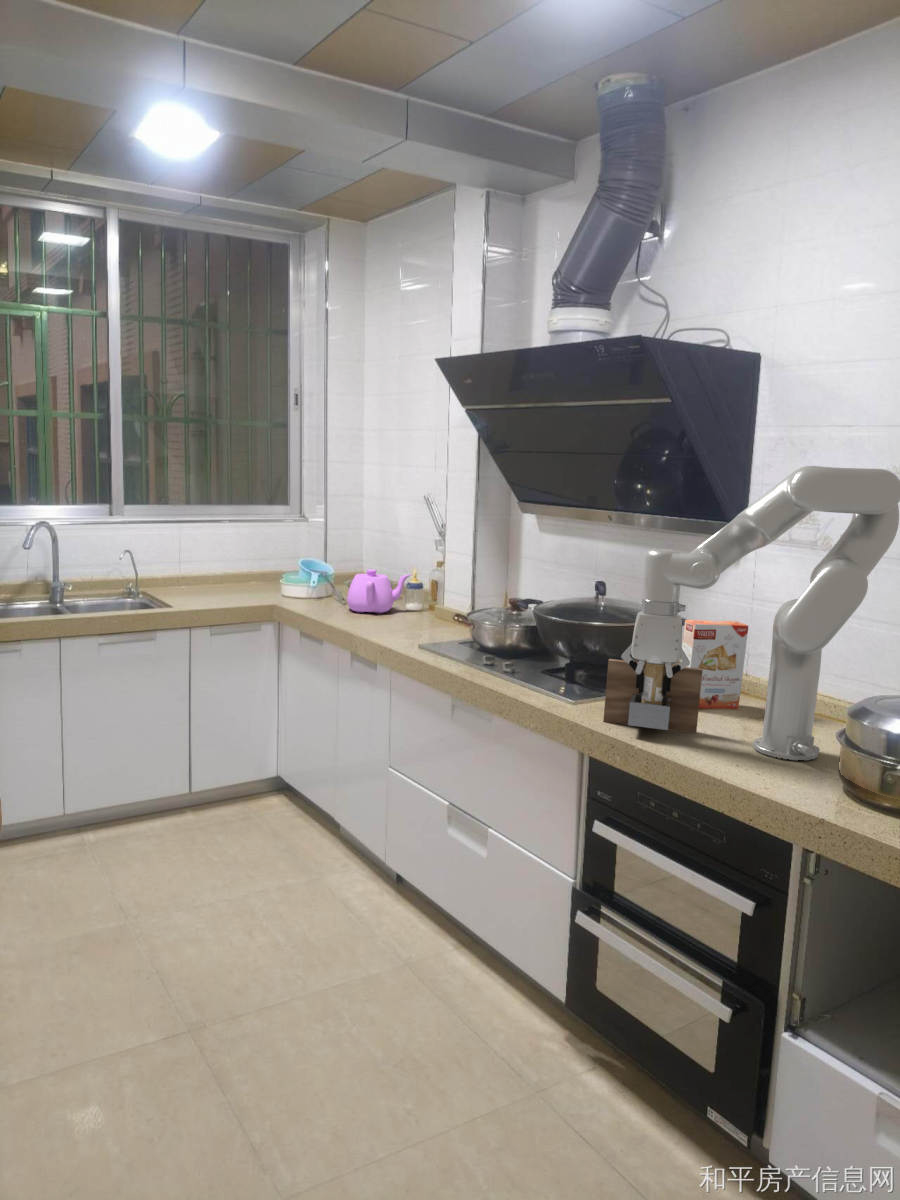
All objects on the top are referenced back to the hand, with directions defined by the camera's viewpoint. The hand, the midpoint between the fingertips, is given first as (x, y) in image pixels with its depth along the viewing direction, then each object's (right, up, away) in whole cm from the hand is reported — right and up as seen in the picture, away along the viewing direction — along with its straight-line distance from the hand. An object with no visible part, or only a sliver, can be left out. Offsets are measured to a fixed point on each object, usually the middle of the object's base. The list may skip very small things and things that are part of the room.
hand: (652, 692), depth 194 cm
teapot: (-71, +15, +136) cm, 154 cm away
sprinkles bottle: (0, -5, +1) cm, 5 cm away
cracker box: (+19, -6, +27) cm, 34 cm away
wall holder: (0, -9, +3) cm, 9 cm away
